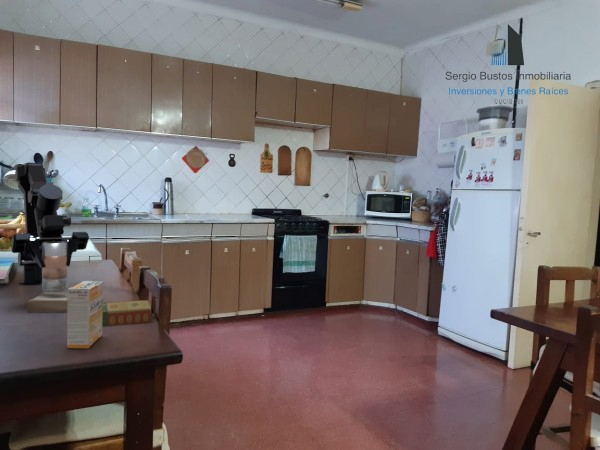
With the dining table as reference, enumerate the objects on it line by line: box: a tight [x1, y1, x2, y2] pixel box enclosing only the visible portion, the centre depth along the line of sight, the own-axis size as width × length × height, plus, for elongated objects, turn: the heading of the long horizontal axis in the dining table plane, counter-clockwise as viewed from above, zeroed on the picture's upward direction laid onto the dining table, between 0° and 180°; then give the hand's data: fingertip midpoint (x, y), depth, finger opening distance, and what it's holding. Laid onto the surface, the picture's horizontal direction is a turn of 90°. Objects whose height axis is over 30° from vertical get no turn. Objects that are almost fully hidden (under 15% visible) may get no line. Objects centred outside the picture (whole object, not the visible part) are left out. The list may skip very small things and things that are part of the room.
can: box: [41, 241, 68, 292], centre depth 123 cm, size 6×6×13 cm
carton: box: [102, 299, 152, 327], centre depth 115 cm, size 8×16×4 cm, turn 115°
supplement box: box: [66, 280, 104, 349], centre depth 98 cm, size 8×5×13 cm, turn 5°
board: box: [26, 291, 68, 313], centre depth 123 cm, size 10×10×3 cm
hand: (55, 266), depth 122 cm, fingers closed on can, 6 cm apart
